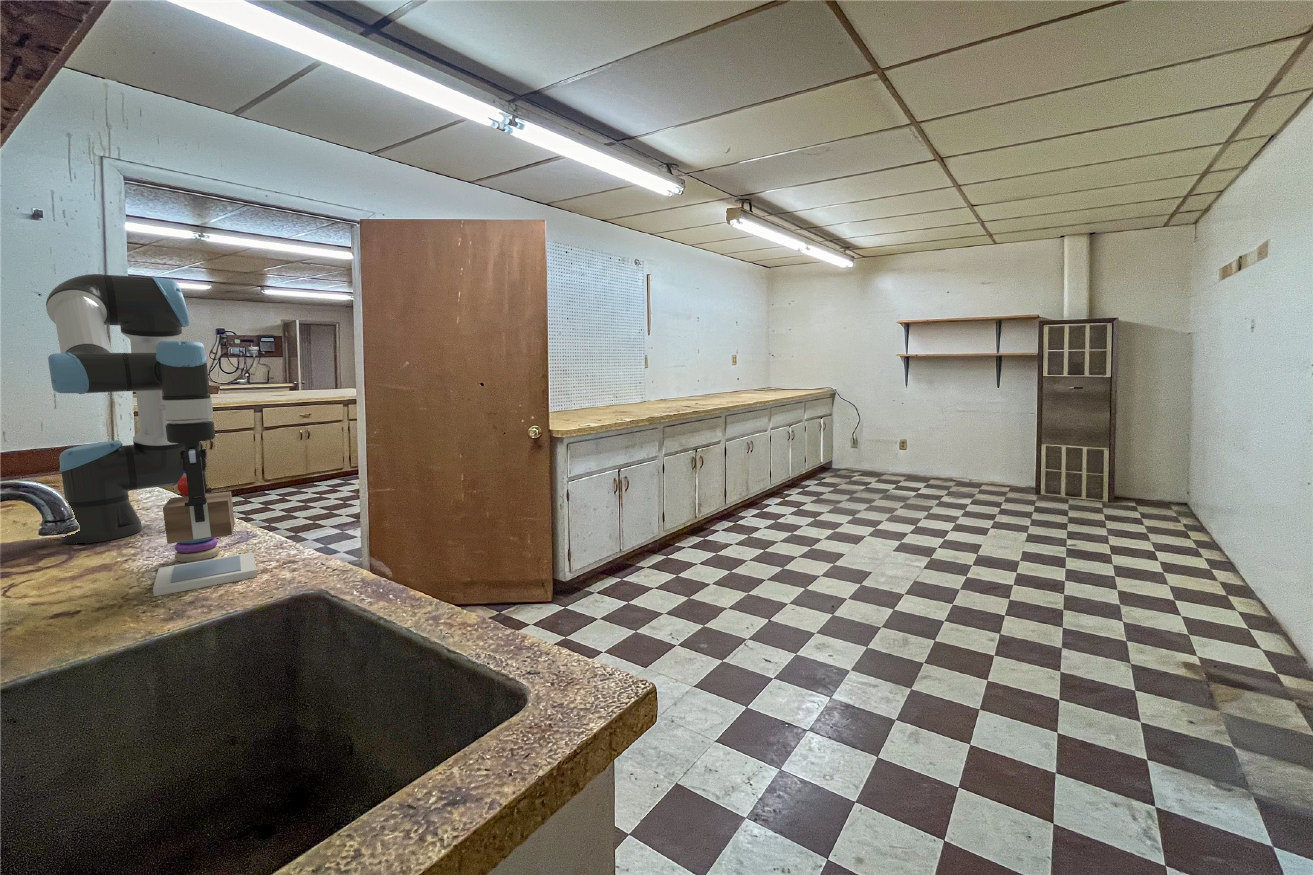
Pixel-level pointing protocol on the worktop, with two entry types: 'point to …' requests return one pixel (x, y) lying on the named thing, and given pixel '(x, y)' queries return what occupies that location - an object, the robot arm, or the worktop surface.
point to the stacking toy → (195, 548)
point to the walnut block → (180, 517)
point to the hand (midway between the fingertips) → (203, 531)
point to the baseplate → (204, 573)
